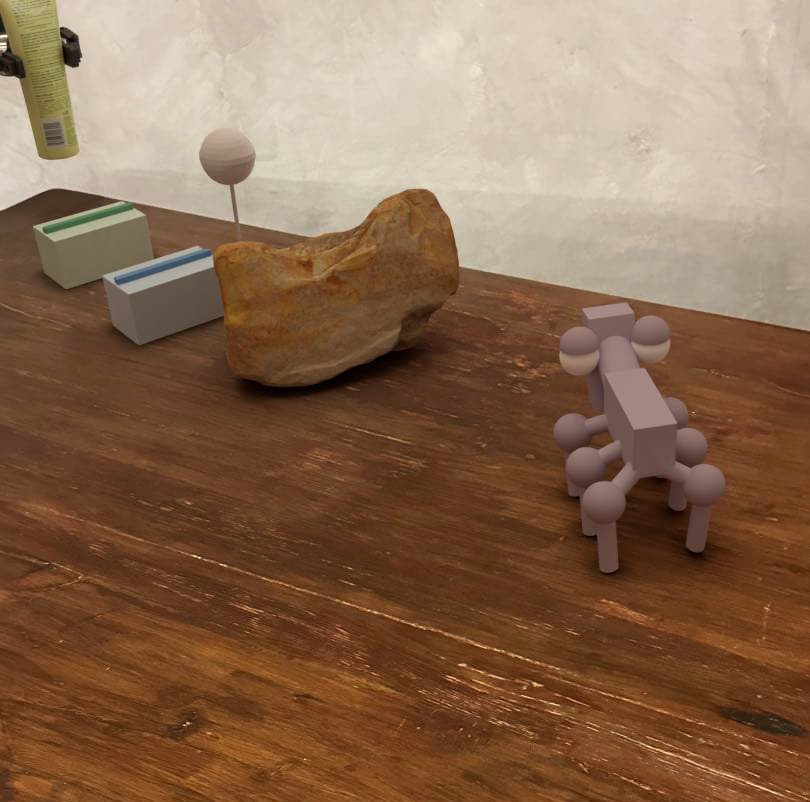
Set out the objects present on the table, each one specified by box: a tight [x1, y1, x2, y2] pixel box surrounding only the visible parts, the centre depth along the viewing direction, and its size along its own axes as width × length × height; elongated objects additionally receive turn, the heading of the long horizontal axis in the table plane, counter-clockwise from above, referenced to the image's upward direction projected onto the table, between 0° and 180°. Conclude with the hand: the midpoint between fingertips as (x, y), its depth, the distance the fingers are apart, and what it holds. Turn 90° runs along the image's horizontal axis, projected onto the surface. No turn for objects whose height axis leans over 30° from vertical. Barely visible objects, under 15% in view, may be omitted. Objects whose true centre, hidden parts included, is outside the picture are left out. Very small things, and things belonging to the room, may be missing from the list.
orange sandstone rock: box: [212, 188, 461, 388], centre depth 107 cm, size 23×17×15 cm
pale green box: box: [32, 200, 155, 290], centre depth 127 cm, size 11×6×6 cm, turn 127°
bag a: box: [101, 245, 224, 346], centre depth 115 cm, size 11×6×6 cm, turn 127°
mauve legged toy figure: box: [552, 301, 727, 574], centre depth 85 cm, size 20×11×14 cm, turn 6°
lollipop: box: [198, 127, 257, 242], centre depth 124 cm, size 6×6×15 cm
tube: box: [0, 0, 80, 161], centre depth 132 cm, size 6×5×20 cm
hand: (48, 63), depth 129 cm, fingers closed on tube, 6 cm apart
